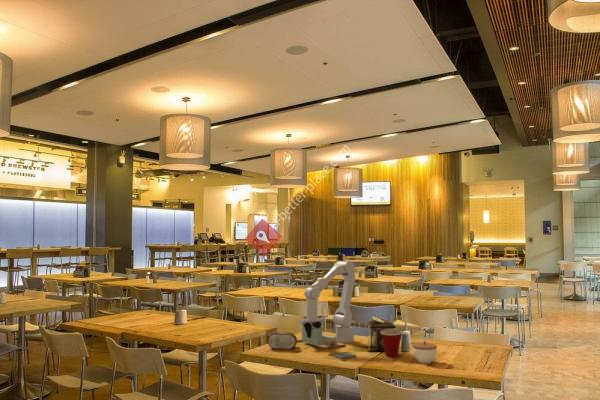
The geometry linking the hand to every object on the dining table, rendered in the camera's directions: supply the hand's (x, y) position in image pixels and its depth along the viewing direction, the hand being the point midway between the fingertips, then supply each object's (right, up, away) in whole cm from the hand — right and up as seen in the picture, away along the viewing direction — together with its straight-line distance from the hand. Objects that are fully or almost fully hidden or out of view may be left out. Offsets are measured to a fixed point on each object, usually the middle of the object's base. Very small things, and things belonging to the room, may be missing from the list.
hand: (311, 337), depth 266 cm
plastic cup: (+38, -4, -19) cm, 42 cm away
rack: (+4, -6, +2) cm, 7 cm away
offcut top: (+8, -3, +5) cm, 10 cm away
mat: (+12, -4, -16) cm, 21 cm away
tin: (-15, -5, -4) cm, 17 cm away
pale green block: (0, -3, 0) cm, 3 cm away
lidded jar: (+51, -4, -30) cm, 60 cm away
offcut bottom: (+8, -5, +5) cm, 10 cm away
